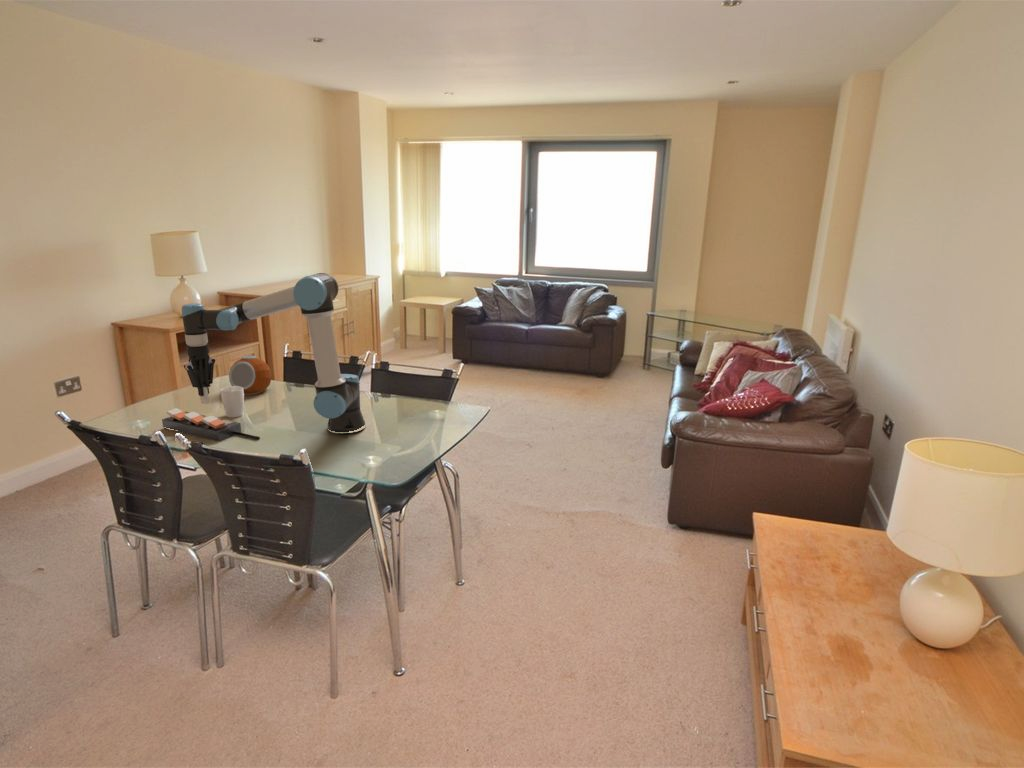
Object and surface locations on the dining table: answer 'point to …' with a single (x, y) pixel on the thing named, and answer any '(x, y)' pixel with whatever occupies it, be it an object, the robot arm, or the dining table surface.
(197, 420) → the rocker
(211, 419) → the rocker
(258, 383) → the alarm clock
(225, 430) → the power strip
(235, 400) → the cup
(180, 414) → the rocker
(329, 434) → the dining table surface
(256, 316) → the robot arm
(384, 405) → the dining table surface
